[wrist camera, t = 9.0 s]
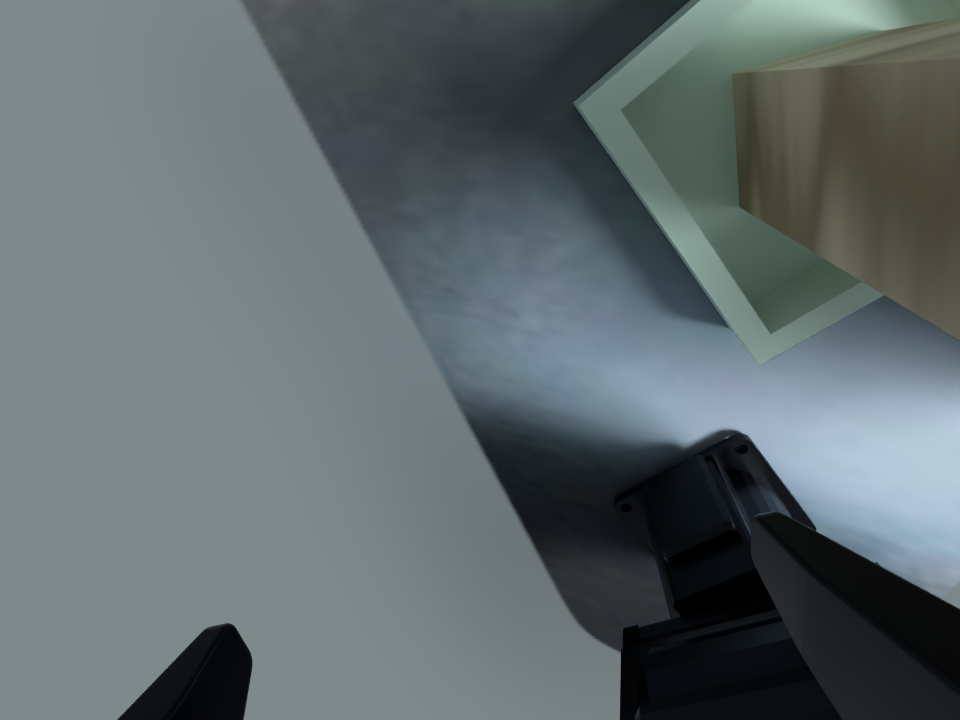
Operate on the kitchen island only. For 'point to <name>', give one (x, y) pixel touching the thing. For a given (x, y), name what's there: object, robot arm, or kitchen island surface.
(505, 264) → the kitchen island surface
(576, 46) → the kitchen island surface
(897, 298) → the oak block
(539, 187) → the kitchen island surface
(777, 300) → the tray
